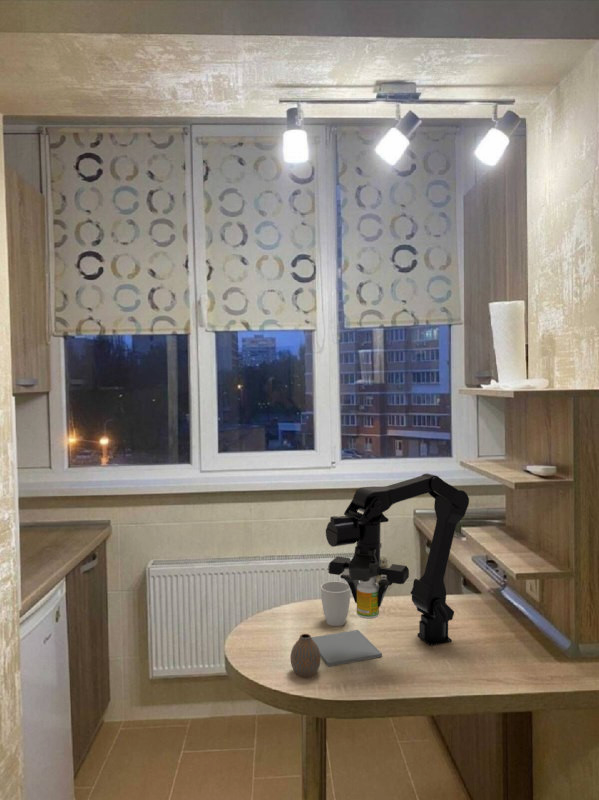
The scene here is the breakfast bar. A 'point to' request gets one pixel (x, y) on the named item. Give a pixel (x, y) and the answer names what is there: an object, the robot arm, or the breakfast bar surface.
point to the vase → (305, 656)
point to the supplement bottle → (368, 599)
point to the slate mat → (345, 647)
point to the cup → (335, 602)
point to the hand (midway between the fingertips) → (367, 604)
